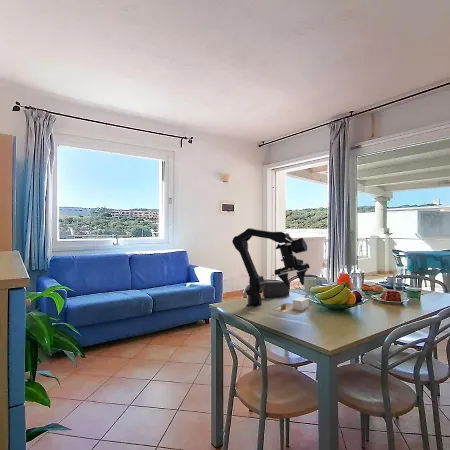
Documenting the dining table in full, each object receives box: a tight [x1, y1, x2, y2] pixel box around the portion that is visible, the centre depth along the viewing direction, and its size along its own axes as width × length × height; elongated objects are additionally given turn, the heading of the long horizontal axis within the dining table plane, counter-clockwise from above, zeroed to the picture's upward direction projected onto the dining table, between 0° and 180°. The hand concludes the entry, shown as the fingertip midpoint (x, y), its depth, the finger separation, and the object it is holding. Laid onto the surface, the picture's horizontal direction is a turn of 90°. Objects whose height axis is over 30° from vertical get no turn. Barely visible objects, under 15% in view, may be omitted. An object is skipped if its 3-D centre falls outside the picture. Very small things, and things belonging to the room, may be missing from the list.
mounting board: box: [270, 302, 314, 316], centre depth 160 cm, size 15×18×3 cm
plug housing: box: [292, 296, 310, 310], centre depth 163 cm, size 5×10×4 cm, turn 142°
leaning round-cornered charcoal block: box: [262, 280, 290, 299], centre depth 190 cm, size 16×5×9 cm, turn 99°
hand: (295, 286), depth 158 cm, fingers open, 9 cm apart
